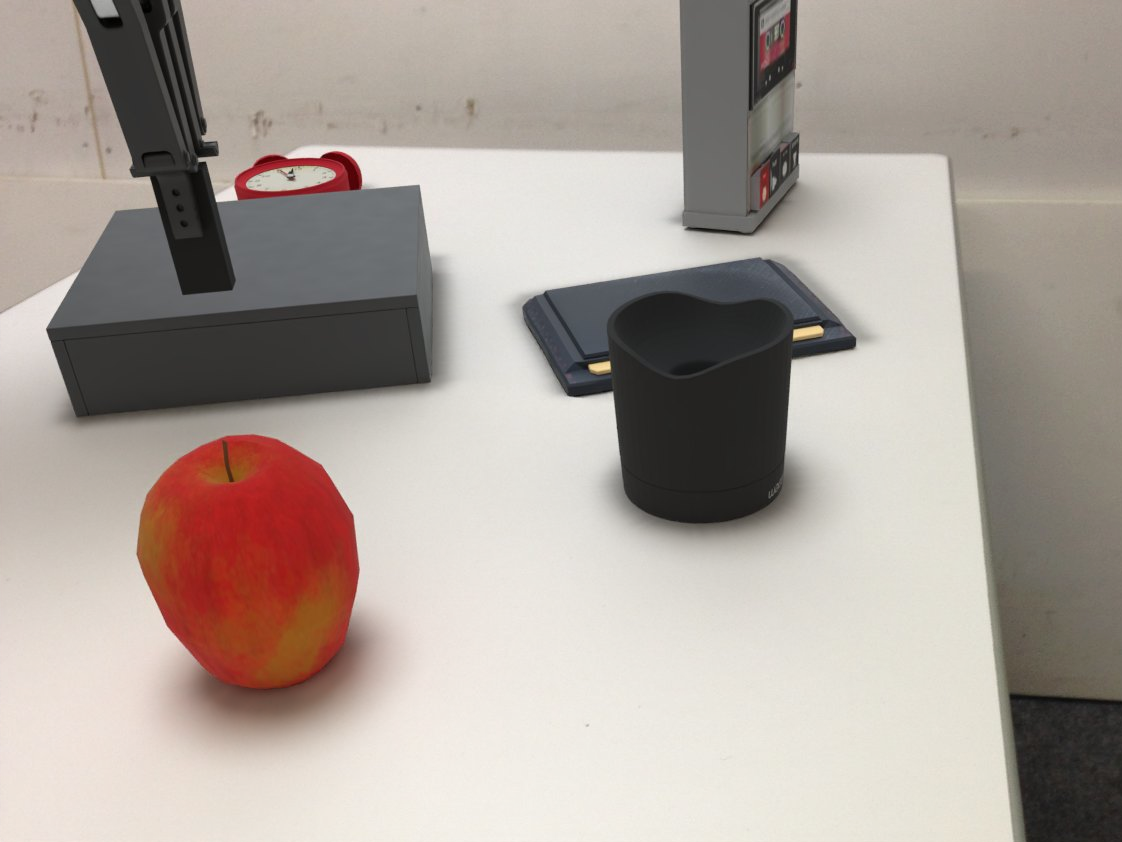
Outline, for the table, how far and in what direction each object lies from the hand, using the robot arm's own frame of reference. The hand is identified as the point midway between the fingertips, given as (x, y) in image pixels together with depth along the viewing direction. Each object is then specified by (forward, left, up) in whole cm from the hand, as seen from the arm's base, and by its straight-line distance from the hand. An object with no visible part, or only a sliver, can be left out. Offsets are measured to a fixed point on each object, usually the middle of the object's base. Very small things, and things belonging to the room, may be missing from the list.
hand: (209, 287), depth 71 cm
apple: (+15, -17, -10) cm, 25 cm away
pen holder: (+28, +4, -10) cm, 30 cm away
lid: (-8, +14, -10) cm, 19 cm away
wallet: (+19, +24, -10) cm, 32 cm away
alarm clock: (-21, +36, -10) cm, 43 cm away
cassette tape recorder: (+15, +49, -10) cm, 52 cm away
